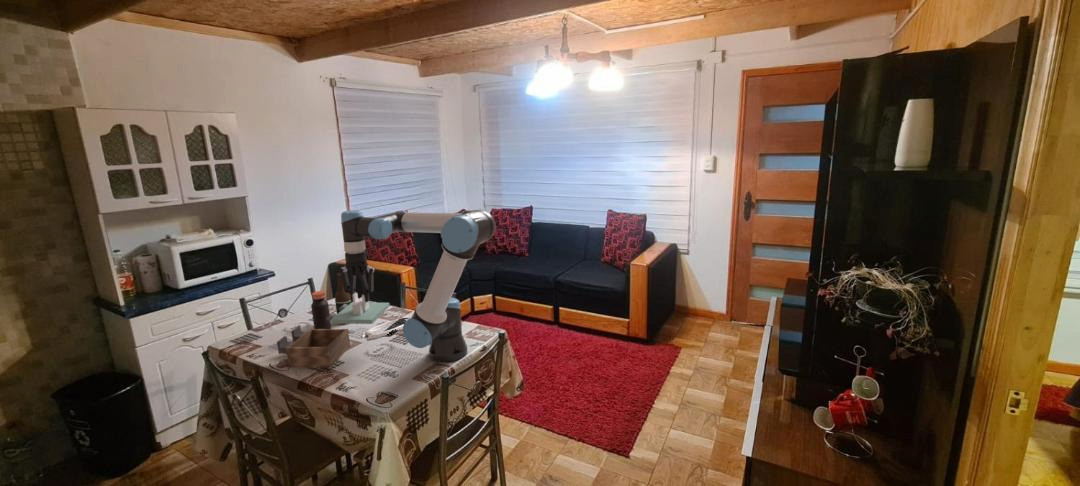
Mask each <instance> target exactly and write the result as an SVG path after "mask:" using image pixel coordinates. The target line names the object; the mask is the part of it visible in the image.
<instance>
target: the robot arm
mask: <svg viewBox="0 0 1080 486" xmlns="http://www.w3.org/2000/svg"><path fill="white" fill-rule="evenodd" d="M340 214H341V215H340V216H341V218H340V220H341V221H340V224H341V231H342V237H343V249H344V252H345V253H344V258H345V265H344V266H342V267H340V268H339V269H338V271H339V273H341V275H342V280H343V285H344V290H345V293H349V294H350V297H351V302H353V304H354V303H355V302H356V301H357V300H358V299H359V297H358V296H359V295H358V292H356V284H357V283H356V282H357V276H358V278H359V281H360V284H361V289H362V292H363V293H362V295H361V297H362V301H363V309H364V311H366V310H367V309H368V301H369V302H370V294H371V293H372V292H374V288H375V286H374V284H375V279H374V278H375V277H374V276H375V275H374V274H375V273H374V272H375V270H376V267H375V266H373V267H372V266H371V265H369V264H368V258H367V251H366V238H369V239H375V240H385V239H388V238H389V237H390V236H391V235H392V234H394V233H400V232H401V233H402V232H403V233H428V234H429V233H431V234H434V233H435V234H440V238H441V241H442V243H441V248H442V250H443V252H442V254H441V257H440V260H439V262H438V264H437V266H436V269H435V272H434V274H433V276H432V279H431V281H430V283H429V286H428V288H427V291H426V294H425V296H424V297H423V301H422V302H420V303H418V304H417V305H416V306H415V309H414V311H413V314H412V316H410V319H408V320H407V321H406V322H405V323H404V322H403V324H404V325H403V324H402V325H403V329H402V334H403V335H404V338H405V340H406V341H407V343H409V344H410V345H411V346H412V347H414V348H417V349H423V348H426V347H427V346H429V349H428V355H429V356H428V357H429V359H431V360H432V361H434V362H435V361H436V362H438V363H439V362H442V363H446V362H454V361H458V360H460V359H462V358H464V357H465V356H467V354H468V346H467V345H468V344H467V343H466V340H465V338H464V335H463V330H462V313H461V309H462V307H461V302H460V300H459V299H457V298H455V297H452V296H453V295H454V291H455V289H456V287H457V285H458V283H459V280H460V278H461V277H462V273H463V271H464V268H465V267H466V264H467V262H468V261H470V260H473V258H474V257H475V255H476V252H477V251H478V249H479V246H480V245H481V244H484V243H486V242H487V241H489V240H490V239H491V238H492V237H493V235H494V233H495V232H496V221H495V219H494V217H493V216H492V215H491V214H490V213H489V212H488V211H486V210H484V209H475V210H463V211H462V212H460V213H459V212H458V213H457V212H408V211H406V210H398V211H395V212H391V213H388V214H383V215H379V216H374V217H365V216H364V215H363V211H362V210H359V209H353V210H352V209H350V210H345V211H342V212H341V213H340ZM366 271H367V273H368V274H366ZM348 273H349V274H348ZM366 275H367V276H366ZM349 278H350V279H349Z"/></svg>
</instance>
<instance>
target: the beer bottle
mask: <svg viewBox="0 0 1080 486" xmlns="http://www.w3.org/2000/svg"><path fill="white" fill-rule="evenodd" d="M336 278H337V280H336V281H337V290H336V292H335V296H334V300H335V301H334V302H335V310H336V311H335V312H336V314H338V313H339V312H341V311H339V308H340V307H341V306H342V305H344V304H347V305H349V304H351V303H352V302H351V297H350V294H349V293H345V290H344V285H343V280H342V275H341V273H340V272H338V273H336ZM338 325H342V324H341V323H338Z"/></svg>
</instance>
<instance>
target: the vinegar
mask: <svg viewBox="0 0 1080 486" xmlns="http://www.w3.org/2000/svg"><path fill="white" fill-rule="evenodd" d="M311 297H312V300H313V301H312V303H311V304H310V306H311V314H312V322H313V329H332V323H331V321H327V317H328V316H330V315H331V314H330V307H329V301H327V300H326V299H325V298H326V295H325V291H323V290H320V291H314V292H312V293H311Z"/></svg>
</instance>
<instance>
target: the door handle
mask: <svg viewBox="0 0 1080 486" xmlns="http://www.w3.org/2000/svg"><path fill="white" fill-rule="evenodd" d="M402 318H408V319H410V318H411V316H403V317H400V318H397V319H393V320H390V321H387V322H383V323H381V324H379V325H376V326H374V327H372V328H370V329H367V330H365V331H364V332H363V333H362V334H361V338H365V337H368V338H367V341H370V340H377V339H379V338H382V337H385V336H388V335H387V334H389V332H391V331H392V330H395V329H396V330H399V329H402V328H403V325H404V323H403V324H401V325H399V326H396V327H393V328H390V329H388V330H385V331H381V332H378V333H377V331H379V330H382V329H384V328H387V327H390V326H392V325H391V324H393V323H395V322H396V321H398V320H399V319H402ZM408 319H405V320H406V321H407V320H408ZM402 330H403V329H402ZM389 335H390V334H389Z"/></svg>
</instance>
